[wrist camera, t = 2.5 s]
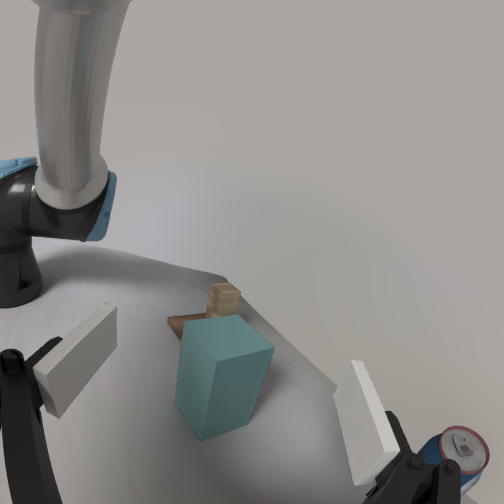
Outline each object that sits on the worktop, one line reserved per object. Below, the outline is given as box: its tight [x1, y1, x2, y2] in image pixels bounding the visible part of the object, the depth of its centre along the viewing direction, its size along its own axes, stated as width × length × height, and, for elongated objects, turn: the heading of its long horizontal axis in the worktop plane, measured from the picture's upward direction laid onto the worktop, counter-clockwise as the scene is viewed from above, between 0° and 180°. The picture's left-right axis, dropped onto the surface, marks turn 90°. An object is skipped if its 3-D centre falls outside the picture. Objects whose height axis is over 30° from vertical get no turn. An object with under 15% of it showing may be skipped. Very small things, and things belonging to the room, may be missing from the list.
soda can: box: [417, 426, 490, 496], centre depth 15 cm, size 7×7×12 cm
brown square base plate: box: [168, 283, 241, 342], centre depth 44 cm, size 12×12×9 cm
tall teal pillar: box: [175, 314, 274, 441], centre depth 28 cm, size 6×6×12 cm
